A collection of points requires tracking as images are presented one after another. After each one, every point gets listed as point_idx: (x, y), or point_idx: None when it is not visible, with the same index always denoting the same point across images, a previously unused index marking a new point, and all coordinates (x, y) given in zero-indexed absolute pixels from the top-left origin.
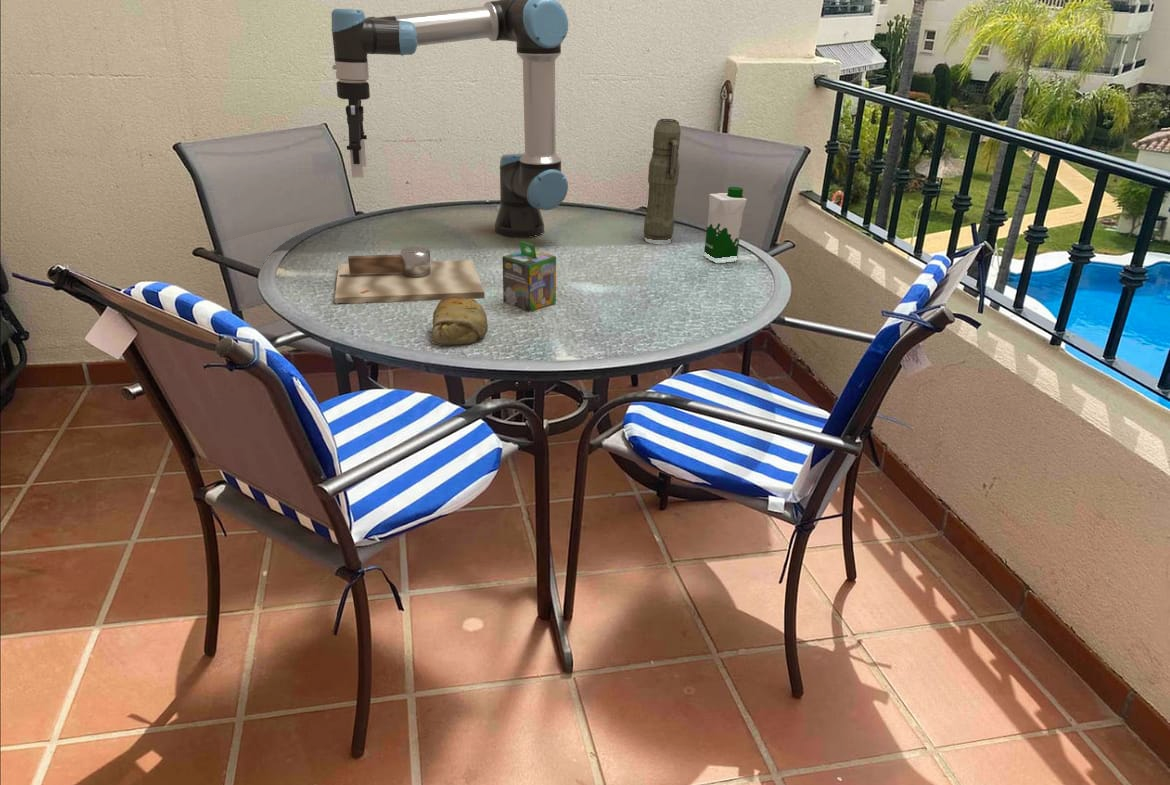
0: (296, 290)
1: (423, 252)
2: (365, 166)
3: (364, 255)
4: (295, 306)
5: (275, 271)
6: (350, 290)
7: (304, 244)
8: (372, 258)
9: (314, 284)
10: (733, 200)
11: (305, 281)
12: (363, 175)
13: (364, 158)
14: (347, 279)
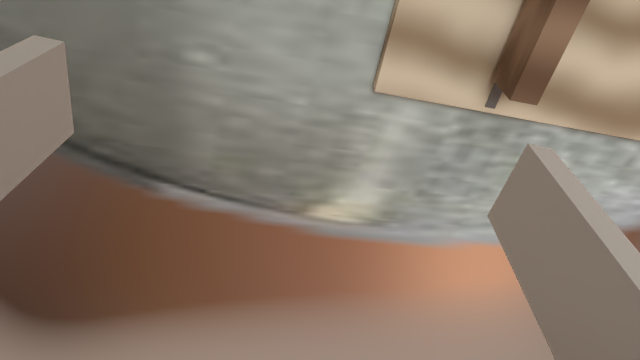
0: (493, 199)
1: None
2: (62, 46)
3: (534, 46)
4: None
5: (331, 222)
6: (632, 99)
7: (93, 139)
8: (576, 22)
9: (470, 159)
10: None
11: (436, 175)
12: (549, 154)
13: (19, 79)
14: None
